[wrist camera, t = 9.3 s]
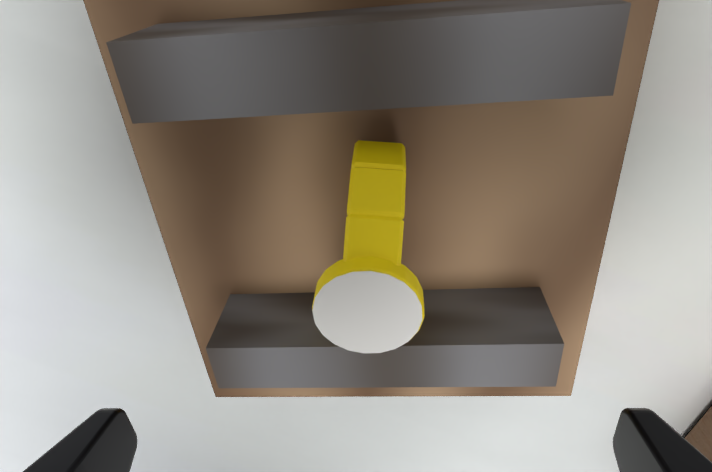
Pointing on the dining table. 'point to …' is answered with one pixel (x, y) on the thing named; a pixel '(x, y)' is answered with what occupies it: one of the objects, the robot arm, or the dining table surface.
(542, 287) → the cradle
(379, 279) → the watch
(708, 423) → the wooden block
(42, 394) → the dining table surface
